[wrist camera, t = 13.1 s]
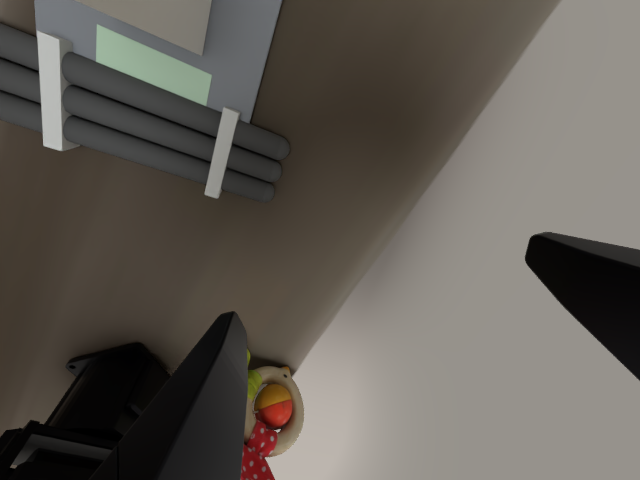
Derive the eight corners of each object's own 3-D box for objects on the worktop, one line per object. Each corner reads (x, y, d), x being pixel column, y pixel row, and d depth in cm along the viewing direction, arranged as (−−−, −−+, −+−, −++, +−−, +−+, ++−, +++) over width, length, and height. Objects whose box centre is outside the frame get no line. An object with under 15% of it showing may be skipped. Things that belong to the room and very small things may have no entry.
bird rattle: (295, 332, 29) (214, 341, 22) (350, 446, 22) (253, 503, 15) (269, 366, 31) (188, 382, 25) (310, 479, 24) (212, 541, 18)
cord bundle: (294, 133, 17) (295, 136, 15) (269, 205, 19) (269, 214, 17) (-29, -1, 12) (-66, -12, 11) (-12, 117, 14) (-42, 120, 13)
